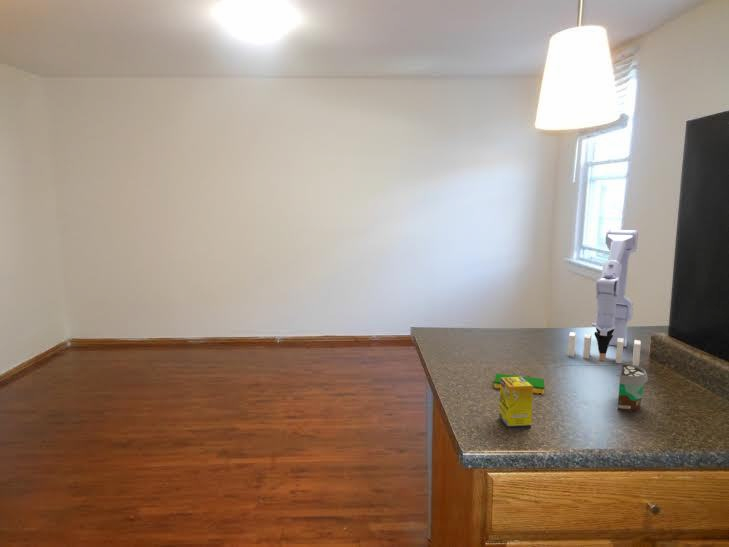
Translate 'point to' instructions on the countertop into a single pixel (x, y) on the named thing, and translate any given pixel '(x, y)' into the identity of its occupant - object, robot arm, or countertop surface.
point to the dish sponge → (535, 382)
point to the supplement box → (515, 402)
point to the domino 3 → (602, 356)
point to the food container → (631, 387)
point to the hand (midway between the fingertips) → (603, 350)
